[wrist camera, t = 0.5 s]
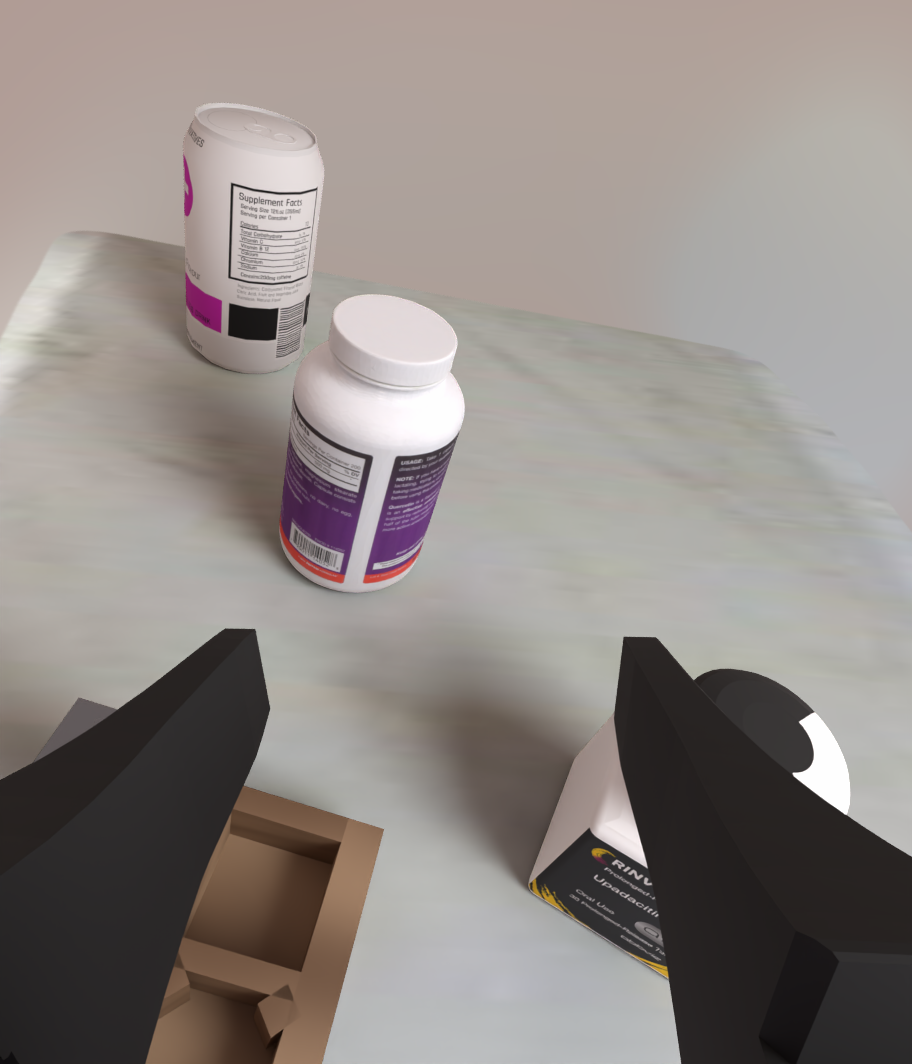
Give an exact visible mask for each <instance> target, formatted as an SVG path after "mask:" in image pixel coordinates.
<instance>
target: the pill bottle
mask: <svg viewBox="0 0 912 1064" xmlns="http://www.w3.org/2000/svg"><path fill="white" fill-rule="evenodd" d="M456 348H457V337H456V334H455V332H454V330H453V328H452V327H451V326H450V325H449V324H448V322H447V321H445V320H444V319H443V318H442V317H441V316H439V315H438V314H437V313H435V312H434V311H432V310H430V309H428V308H426V307H424V306H422V305H420V304H417V303H415V302H412V301H409V300H406V299H403V298H399V297H394V296H388V295H379V294H369V295H359V296H354V297H350V298H348V299H345V300H343V301H342V302H340V303H339V304H338V305H337V306H336V308H335V309H334V311H333V315H332V320H331V325H330V332H329V340H328V341H326V342H324V343H322V344H320V345H318V346H317V347H315V348H314V349H313V350H312V351H310V352H309V353H308V354H307V355H306V357H305V358H304V359H303V360H302V362H301V364H300V366H299V368H298V370H297V373H296V377H295V382H294V390H293V401H292V413H291V422H290V432H289V442H288V451H287V460H286V469H285V478H284V487H283V497H282V505H281V514H280V525H279V534H280V540H281V544H282V548H283V550H284V553H285V554H286V556H287V558H288V560H289V561H290V562H291V564H292V565H293V566H294V567H295V568H296V569H297V570H298V571H299V572H300V573H301V574H302V575H304V576H305V577H306V578H308V579H309V580H311V581H312V582H314V583H316V584H318V585H321V586H323V587H326V588H329V589H333V590H336V591H342V592H350V593H362V592H371V591H376V590H380V589H383V588H386V587H388V586H390V585H392V584H394V583H396V582H397V581H399V580H401V579H402V578H403V577H404V576H405V575H406V574H407V573H408V572H409V571H410V570H411V568H412V567H413V566H414V564H415V562H416V560H417V558H418V555H419V552H420V550H421V547H422V544H423V540H424V537H425V534H426V531H427V528H428V525H429V522H430V519H431V516H432V513H433V510H434V507H435V504H436V501H437V497H438V494H439V491H440V488H441V485H442V482H443V479H444V476H445V473H446V470H447V467H448V464H449V461H450V458H451V455H452V452H453V449H454V446H455V443H456V440H457V437H458V434H459V431H460V428H461V426H462V422H463V418H464V411H465V405H464V399H463V395H462V392H461V389H460V387H459V385H458V383H457V381H456V380H455V378H454V376H453V375H452V374H451V372H450V370H451V367H452V363H453V359H454V355H455V352H456Z"/></svg>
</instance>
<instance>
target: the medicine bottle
mask: <svg viewBox="0 0 912 1064" xmlns="http://www.w3.org/2000/svg"><path fill="white" fill-rule="evenodd" d="M694 681H695V682H696V684H697V685H698V686H699V687H700V688H701V689H702V690H703V691H704V692H705V694H706V695H707V696H708V697H709V698H710V699H711V700H712V701H713V702H714V703H715V704H716V705H717V706H718V707H719V708H720V709H721V710H722V711H723V713H724V714H725V715H726V716H727V717H728V718H729V719H730V720H731V721H732V722H733V723H734V724H735V725H736V726H737V727H738V728H739V729H740V730H742V731H743V732H744V733H745V734H746V735H747V736H748V737H749V738H750V739H751V740H752V741H753V742H754V743H755V744H756V745H758V746H759V747H760V748H761V749H762V750H763V751H764V752H765V753H767V754H768V755H769V756H770V757H771V758H772V759H773V760H775V761H776V762H777V763H778V764H780V765H781V766H782V767H783V768H784V769H786V770H787V771H788V772H789V773H791V774H792V775H793V776H794V777H796V778H797V779H798V780H799V781H801V782H802V783H803V784H804V785H806V786H807V787H808V788H809V789H811V790H812V791H813V792H815V793H816V794H818V795H819V796H820V797H822V798H823V799H824V800H826V801H827V802H828V803H830V804H831V805H833V806H834V807H836V808H837V809H838V810H840V811H841V812H843V813H844V814H847V812H848V807H849V803H850V784H849V775H848V770H847V766H846V763H845V760H844V757H843V754H842V752H841V750H840V748H839V746H838V744H837V742H836V740H835V739H834V737H833V735H832V734H831V732H830V730H829V729H828V728H827V726H826V725H825V724H824V722H823V721H822V720H821V719H820V718H819V716H818V715H817V714H816V713H815V712H814V711H813V710H812V709H811V708H810V707H809V706H808V705H807V704H806V703H805V702H804V701H803V700H802V699H800V698H799V697H798V696H797V695H795V694H794V693H793V692H791V691H790V690H789V689H787V688H786V687H784V686H782V685H781V684H779V683H777V682H775V681H773V680H771V679H769V678H767V677H764V676H762V675H759V674H756V673H752V672H748V671H743V670H735V669H718V670H712V671H709V672H706V673H704V674H702V675H700V676H699V677H697V678H696V679H695V680H694ZM528 887H529V889H530V891H531V892H532V893H533V894H535V895H536V896H538V897H540V898H541V899H543V900H544V901H546V902H547V903H549V904H551V905H552V906H554V907H555V908H557V909H559V910H560V911H562V912H563V913H565V914H566V915H568V916H570V917H571V918H573V919H574V920H576V921H578V922H579V923H581V924H582V925H584V926H585V927H587V928H589V929H590V930H592V931H593V932H595V933H597V934H598V935H600V936H601V937H603V938H604V939H606V940H608V941H609V942H611V943H612V944H614V945H616V946H617V947H619V948H620V949H622V950H623V951H625V952H627V953H628V954H630V955H631V956H633V957H634V958H636V959H638V960H639V961H641V962H642V963H644V964H646V965H647V966H649V967H650V968H652V969H653V970H655V971H657V972H658V973H660V974H661V975H663V976H665V977H666V978H668V979H669V977H668V971H667V964H666V958H665V952H664V946H663V940H662V934H661V928H660V923H659V917H658V911H657V905H656V900H655V896H654V891H653V887H652V882H651V878H650V874H649V870H648V867H647V863H646V859H645V856H644V852H643V848H642V845H641V841H640V837H639V834H638V830H637V826H636V823H635V819H634V815H633V812H632V808H631V804H630V801H629V797H628V793H627V789H626V786H625V782H624V778H623V774H622V770H621V766H620V759H619V753H618V746H617V739H616V731H615V724H614V713H613V714H612V716H611V717H610V718H609V719H608V720H607V721H606V723H605V724H604V725H603V726H602V727H601V728H600V729H599V731H598V732H597V733H596V734H595V735H594V736H593V738H592V739H591V740H590V741H589V742H588V743H587V745H586V746H585V747H584V748H583V749H582V750H581V752H580V753H579V754H578V755H577V756H576V757H575V759H574V761H573V764H572V767H571V769H570V772H569V775H568V777H567V780H566V783H565V785H564V788H563V791H562V793H561V796H560V799H559V801H558V804H557V807H556V809H555V812H554V815H553V817H552V820H551V823H550V825H549V828H548V831H547V833H546V836H545V839H544V841H543V844H542V847H541V849H540V852H539V855H538V857H537V860H536V863H535V865H534V868H533V871H532V873H531V876H530V879H529V884H528Z"/></svg>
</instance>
